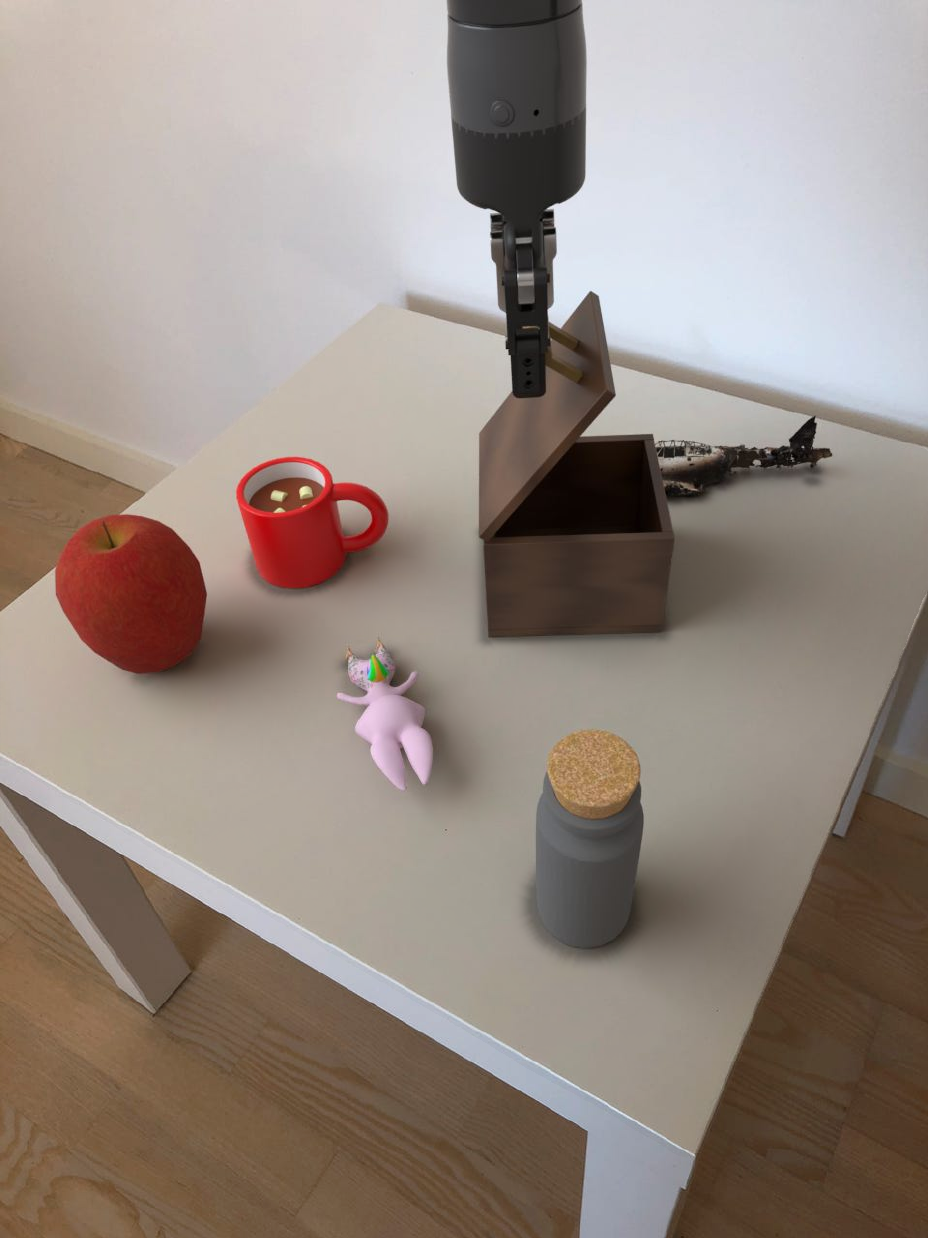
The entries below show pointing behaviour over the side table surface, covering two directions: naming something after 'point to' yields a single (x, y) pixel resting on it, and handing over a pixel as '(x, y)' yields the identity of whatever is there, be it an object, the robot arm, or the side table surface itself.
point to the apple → (132, 592)
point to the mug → (302, 520)
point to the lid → (545, 416)
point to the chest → (585, 546)
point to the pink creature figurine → (389, 718)
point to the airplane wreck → (730, 460)
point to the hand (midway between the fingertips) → (527, 370)
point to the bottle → (588, 838)
